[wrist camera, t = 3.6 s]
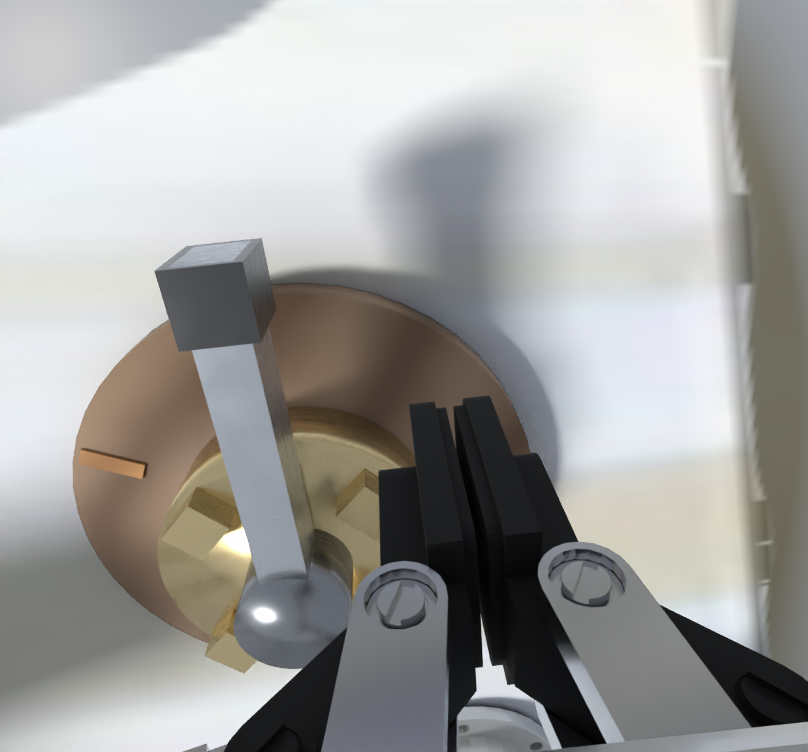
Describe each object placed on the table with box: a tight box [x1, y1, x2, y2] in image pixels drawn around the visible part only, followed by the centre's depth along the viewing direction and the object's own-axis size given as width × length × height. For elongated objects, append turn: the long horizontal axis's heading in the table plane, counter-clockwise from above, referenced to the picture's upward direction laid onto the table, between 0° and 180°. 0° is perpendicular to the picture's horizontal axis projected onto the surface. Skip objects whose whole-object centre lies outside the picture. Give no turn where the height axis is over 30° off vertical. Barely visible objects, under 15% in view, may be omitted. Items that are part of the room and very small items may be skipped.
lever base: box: [73, 283, 530, 643], centre depth 28 cm, size 22×22×2 cm
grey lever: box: [155, 238, 415, 673], centre depth 22 cm, size 20×12×7 cm, turn 6°
